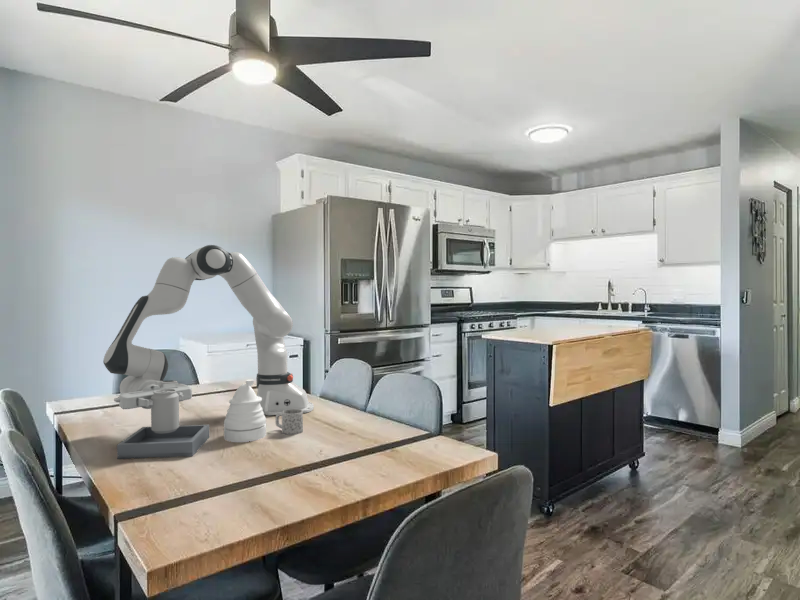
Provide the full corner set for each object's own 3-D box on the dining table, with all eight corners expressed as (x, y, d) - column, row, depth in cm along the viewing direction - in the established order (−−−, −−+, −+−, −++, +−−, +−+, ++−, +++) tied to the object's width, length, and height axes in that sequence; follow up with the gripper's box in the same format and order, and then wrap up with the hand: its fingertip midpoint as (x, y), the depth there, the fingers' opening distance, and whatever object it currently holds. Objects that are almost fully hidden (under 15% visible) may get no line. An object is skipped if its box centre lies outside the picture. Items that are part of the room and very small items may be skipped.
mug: (306, 430, 168) (306, 410, 168) (294, 435, 162) (294, 414, 162) (282, 426, 172) (282, 407, 172) (269, 432, 166) (269, 411, 166)
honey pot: (274, 432, 166) (273, 377, 165) (250, 444, 154) (249, 384, 153) (240, 428, 170) (240, 375, 169) (215, 440, 158) (214, 382, 157)
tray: (209, 437, 161) (209, 424, 160) (192, 456, 143) (192, 442, 143) (143, 439, 158) (142, 426, 158) (117, 459, 141) (117, 444, 140)
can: (167, 435, 146) (166, 393, 145) (145, 433, 148) (144, 392, 147) (184, 428, 153) (184, 388, 153) (163, 426, 155) (163, 387, 155)
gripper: (111, 388, 152) (128, 395, 142) (180, 379, 166) (199, 385, 157) (112, 409, 152) (128, 418, 142) (180, 398, 166) (199, 405, 157)
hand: (166, 400), depth 150 cm, fingers closed on can, 7 cm apart
